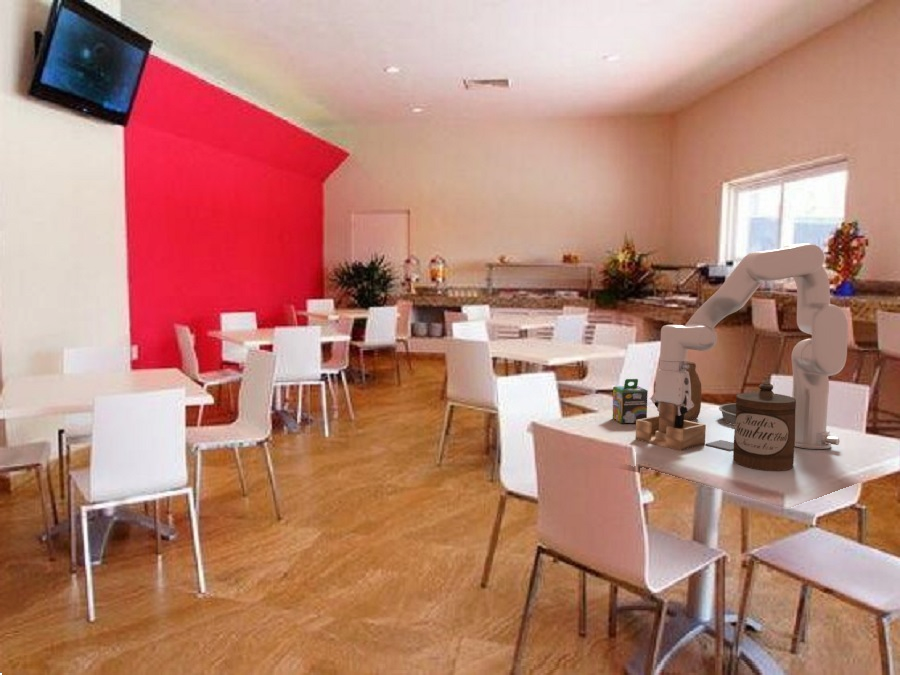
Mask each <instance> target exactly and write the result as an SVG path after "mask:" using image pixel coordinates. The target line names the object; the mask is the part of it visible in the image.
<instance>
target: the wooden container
mask: <svg viewBox="0 0 900 675" xmlns="http://www.w3.org/2000/svg"><path fill="white" fill-rule="evenodd" d="M758 389H759V391H758V392H741V393H738V394H736V396H735V397H736V398H735V403H736V419H735V425H734V431H733V432H734V433H733V434H734V435H733V443H734V450H732V451H733V454H732V459H733V462H734V463H736V464H738V465H740V466H743V467H745V468H750V469H753V470H754V469H755V470H759V471H769V472H770V471H771V472H773V471H774V472H775V471H776V472H779V471H787V470H790V469H792V468H794V461H795V460H794V458H795V448H796V447H795V410H796V399H795V398H793V397H792V396H790V395H785V394H781V393H780V394H779V393H774V391H773V390H774V385H773V384H771V383H770V382H762V383H760V384H759V386H758Z"/></svg>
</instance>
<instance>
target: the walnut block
mask: <svg viewBox="0 0 900 675" xmlns="http://www.w3.org/2000/svg"><path fill="white" fill-rule="evenodd" d="M680 408H681V406H680ZM676 415H677V411H676V405H675V404H670V403H664V402H660V404H659V412H658V416H659V432H664V433H666V427H668V426H669V427H674V428H675V416H676ZM678 429H683V427H682V428H678Z"/></svg>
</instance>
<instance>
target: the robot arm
mask: <svg viewBox="0 0 900 675" xmlns="http://www.w3.org/2000/svg"><path fill="white" fill-rule="evenodd" d="M824 263H825V254H824V251H823V250H822V248H821V247H820V246H818V245H817V244H813V243H794V244H793V243H792V244H788V245H786V246H783V247H782V248H779V249H772V250H764V251H763V250H762V251H761V250H760V251H753V252H749V253H748V254H746V255H745V256H744V257H743V258H742V259H741V260H740V261H739V263H738V264H737V266H736V267H735V268H734V269H733V270H732V271H731V273H730V275H729V276H728V277H727V278H726V279H725V281H724V282H723V283H722V284H721V286H720V287H719V288H718V290H716V291H715V293H714V294H712V295H711V296H710V297H709V298H708V299H707V300H706V301H705V302H704V303H703V304H702V305H700V306H699V307H698V308H697V310H696V311H695V312H694V313H693V314H692V315H691V317H690V319H688V321H687V322H686V323H685V325H683V324H682V325H681V324H666V325H663V326H662V327H661V329H660V348H659V349H660V350H659V352H660V354H659V356H660V357H659V369H657V370H658V371H657V373H656V377H655V378H656V379H655V385H654V393H653V394H652V395H651V397H650V398H649V399H650V401H651V402H652V403H653V404H654V406H655V407H656V411H657V412H658V413H659V404H660V402H664V403H670V404H675V405H676V411H677V415H676V416H675V428H682V427H683V425H684V415H685V414H686V413H687V412H688V411H689V410H690V409H691V408H693V407H694V404H693V402H692V400H691V383H690V376H689V372H686V369H689V365H688V364H687V362H686V361H687V360H688V359H687V358H688V357H687V354H688V352H687V351H688V350H693V351H699V352H705V351H709V350H711V349H713V348H714V347H715V346H716V345H717V342H718V335H717V333H716V331H715V330H714V328H715V327H716V326H717V325H718V324H719V323H720V321H722V320H723V319H724V318H726V317H727V316H729V315H731V314H733V313H734V314H735V312H737V311H739V310H740V309H742V308H744V307H745V305H746V304H747V302H749V300H750V299H751V297H752V296H753V295H754V294H755V292H756V291H758V289H759V287H760V286H761V285H762V284H763V283H764V282H772V281H778V280H784V279H790V278H793V281H794V282H795V284H796V296H797V297H796V301H797V302H796V324H797V327H798V329H799V330H800V332H802V333H805V334H808V335H811V338H806V339H803V340H800V341H798V342H797V343H796V345H794V347H793V349H792V352H791V366H792V367H791V368H792V391H791V392H792V394H791V397H793V398H795V399H796V410H795V447H794V448H801V449H808V450H826V449H830V448H831V447H832V445H835V446H839V445H840V437H836V436H831V434H830V432H831V431H830V430H827V423H828V422H827V421H828V409H829V408H828V407H829V406H828V405H829V394H830V382H829V381H830V380H829V377H830V376H831V377H832V376H835V375H837V374H839V373H840V372H841V371H842V370H843V369H844V368H845V365H846V362H847V357H848V333H849V332H848V331H849V330H848V328H849V327H848V326H849V325H848V320H847V319H848V318H847V316H846V313H845V312H844V310H843V309H842V308H840V307H839V306H837V305H836V304H833V303H831V289H830V286H831V285H830V279H829V275H828V273H827V272H826V269H825V268H824V267H823V265H824ZM684 404H687V406H685V405H684ZM680 406H681V408H680Z"/></svg>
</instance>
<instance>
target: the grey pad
mask: <svg viewBox="0 0 900 675" xmlns="http://www.w3.org/2000/svg"><path fill="white" fill-rule="evenodd" d="M705 446H707V447H708V446H709V447H712V448H716V449H720V450H724V451H729V452H731V451H733V450H734V442H731V441H728V440H724V439H719V440H716V441H711V442H707V443H706V442H705Z"/></svg>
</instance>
